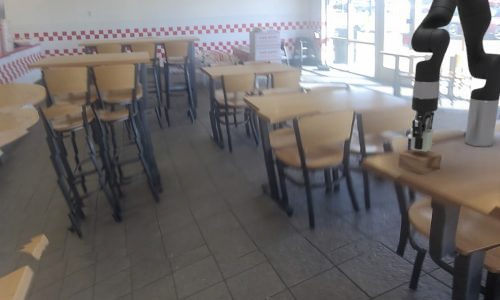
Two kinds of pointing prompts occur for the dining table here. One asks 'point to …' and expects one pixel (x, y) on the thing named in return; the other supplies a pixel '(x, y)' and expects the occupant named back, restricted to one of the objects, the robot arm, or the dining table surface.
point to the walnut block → (420, 161)
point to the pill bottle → (409, 141)
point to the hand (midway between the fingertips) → (421, 146)
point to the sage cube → (424, 141)
